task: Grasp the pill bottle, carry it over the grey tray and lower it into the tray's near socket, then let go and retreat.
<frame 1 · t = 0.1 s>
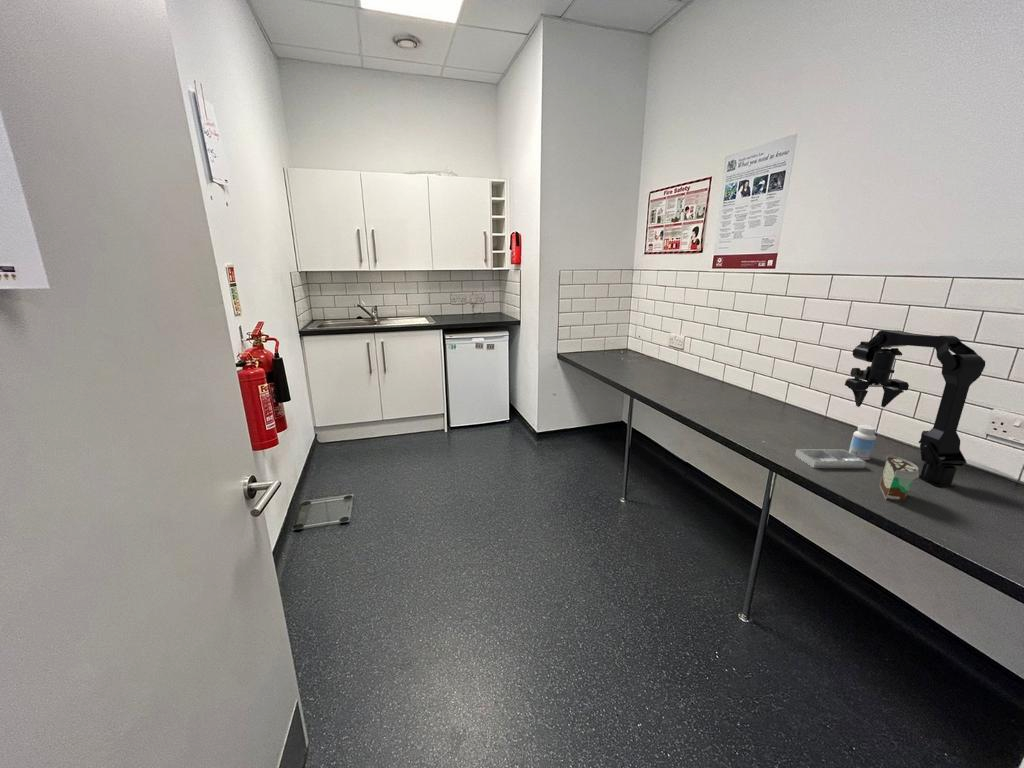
hand: (870, 406, 152), 15 cm above the countertop, fingers open, 9 cm apart
food container: (895, 496, 121), on the countertop
grey tray: (828, 461, 141), on the countertop
pill bottle: (858, 457, 145), on the countertop
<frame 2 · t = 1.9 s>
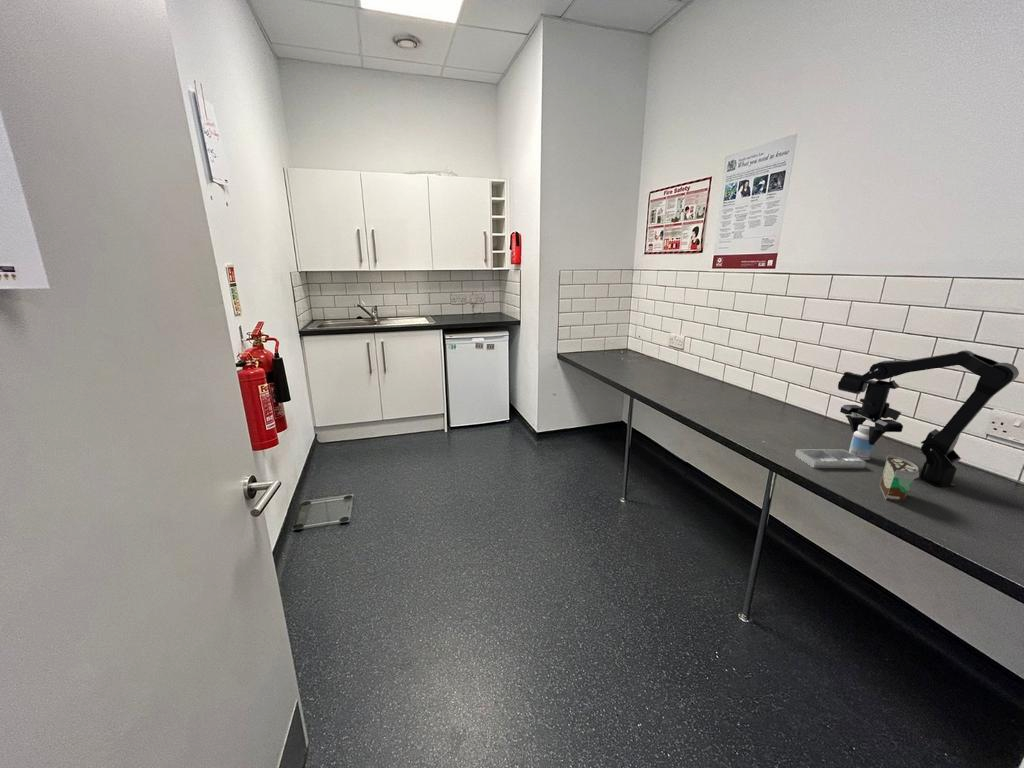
hand: (863, 440, 143), 6 cm above the countertop, fingers closed on pill bottle, 6 cm apart
pill bottle: (858, 457, 145), on the countertop, touching gripper
everything else where it was.
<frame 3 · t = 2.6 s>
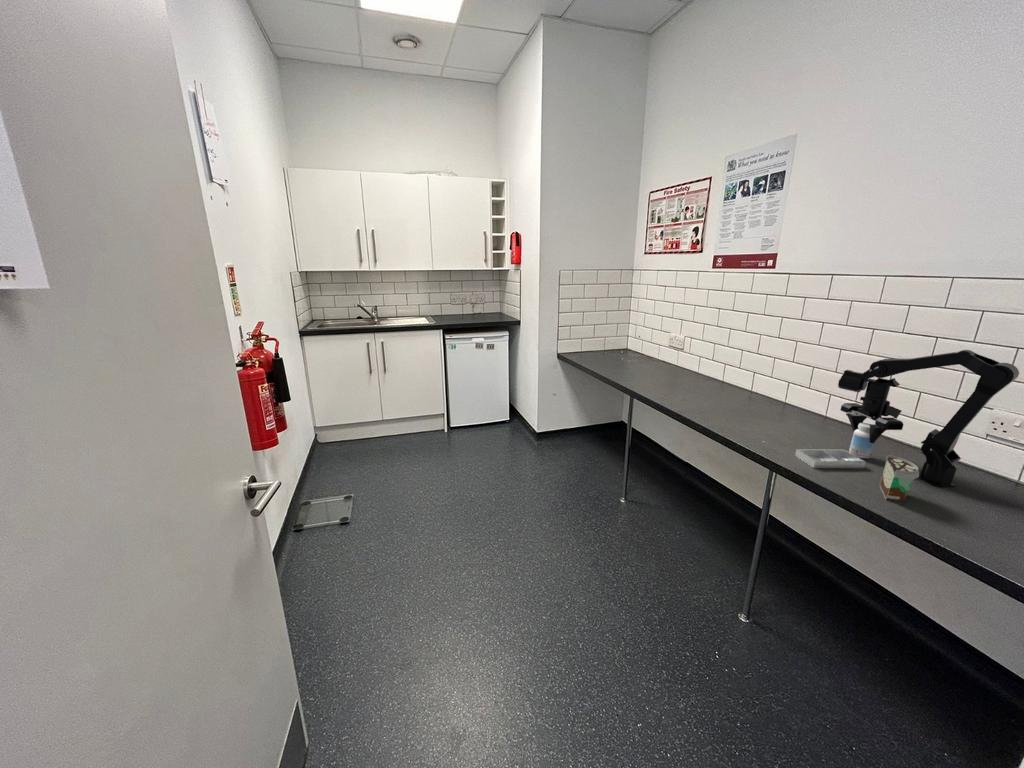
hand: (863, 439, 143), 7 cm above the countertop, fingers closed on pill bottle, 6 cm apart
pill bottle: (859, 455, 145), on the countertop, touching gripper
everything else where it was.
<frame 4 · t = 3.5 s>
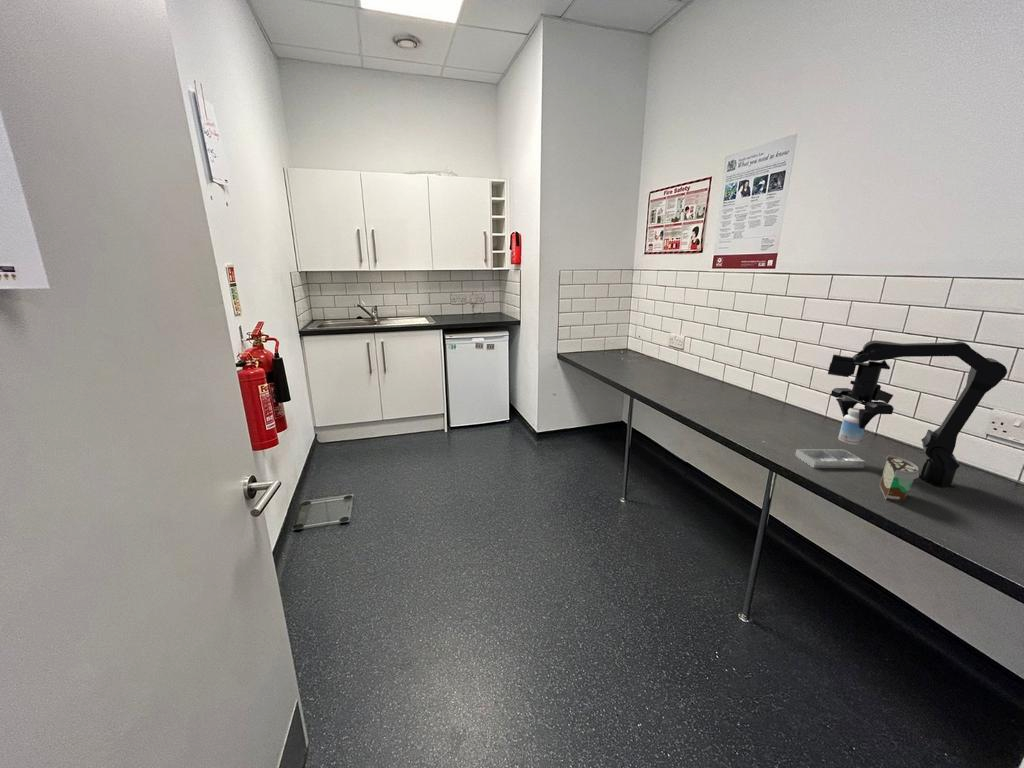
hand: (853, 424, 139), 13 cm above the countertop, fingers closed on pill bottle, 6 cm apart
pill bottle: (848, 441, 140), point 7 cm above the countertop, touching gripper
everything else where it was.
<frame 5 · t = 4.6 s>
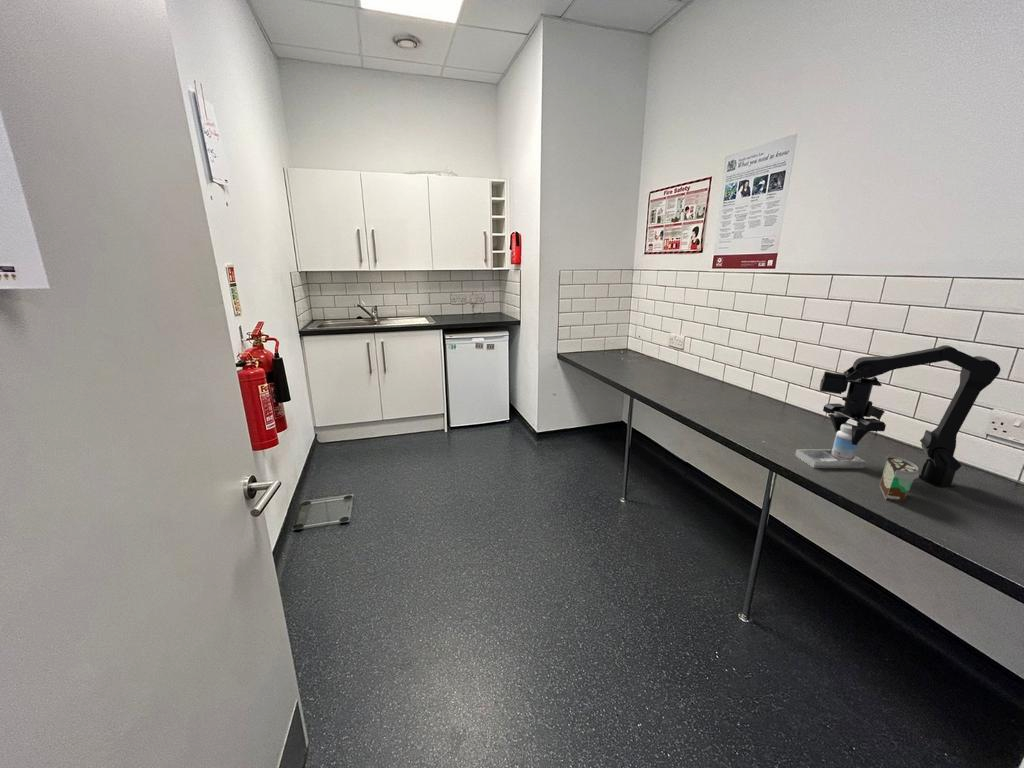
hand: (846, 440, 139), 8 cm above the countertop, fingers closed on pill bottle, 6 cm apart
pill bottle: (841, 457, 141), point 2 cm above the countertop, touching gripper
everything else where it was.
when the fingers open (7 cm above the countertop, at t = 5.2 s): pill bottle stays where it is, resting on grey tray.
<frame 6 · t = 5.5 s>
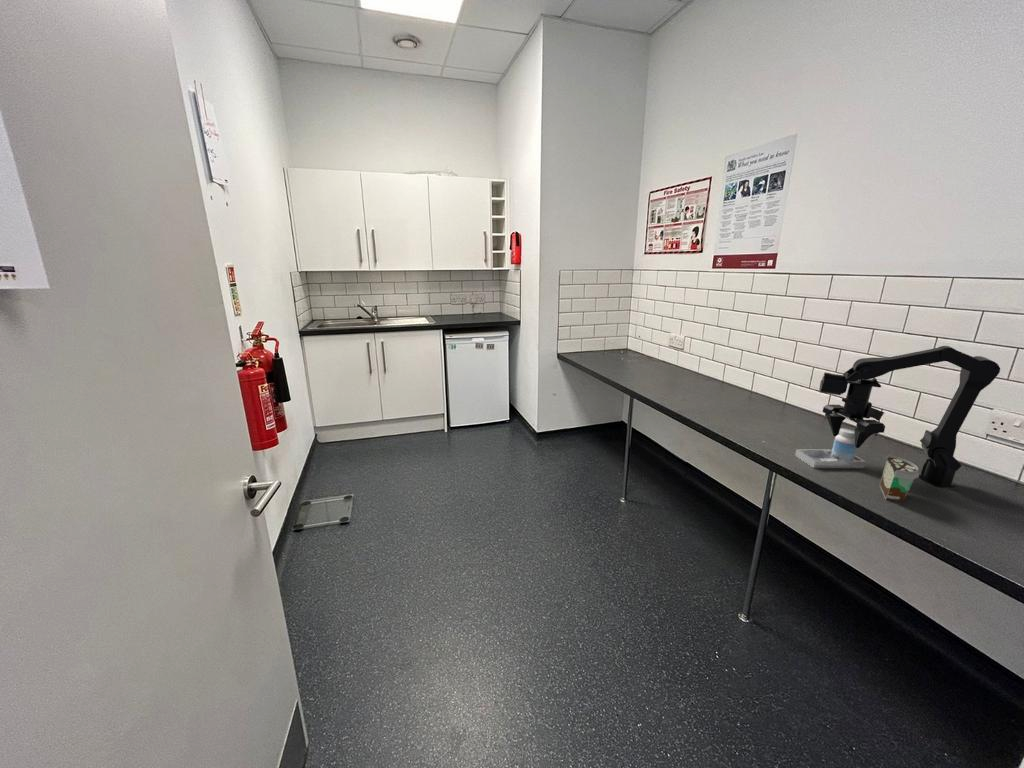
hand: (845, 441, 139), 7 cm above the countertop, fingers open, 9 cm apart
pill bottle: (840, 461, 141), resting on grey tray
everything else where it was.
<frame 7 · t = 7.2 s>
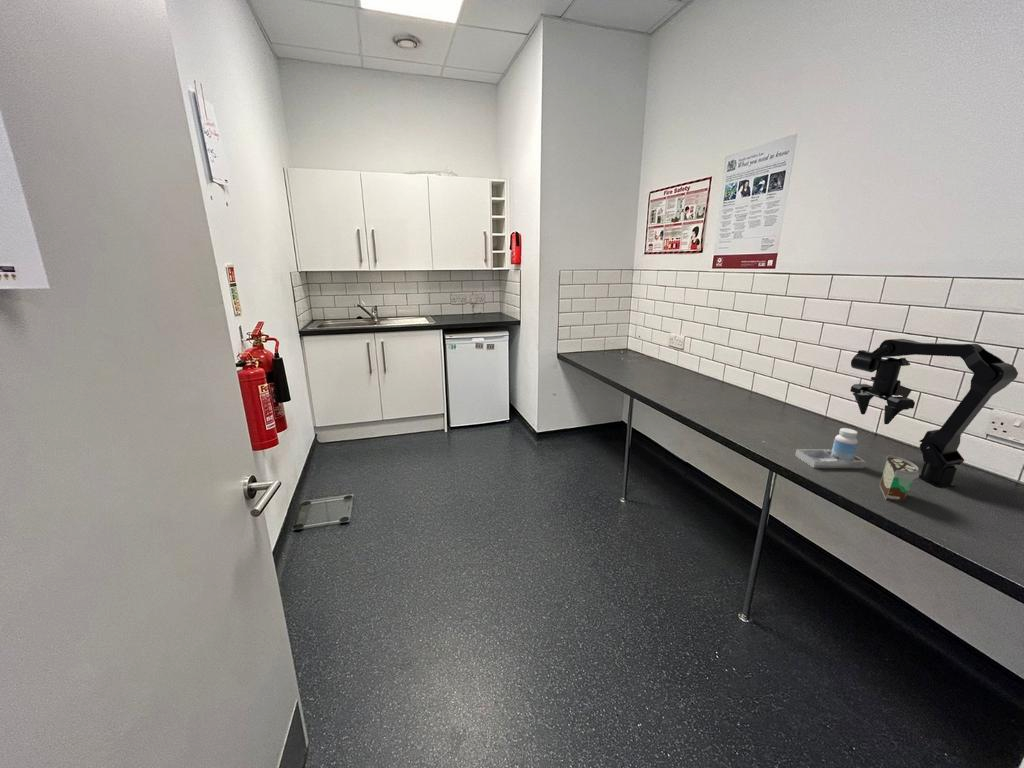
hand: (874, 419, 144), 13 cm above the countertop, fingers open, 9 cm apart
nothing on the countertop moved.
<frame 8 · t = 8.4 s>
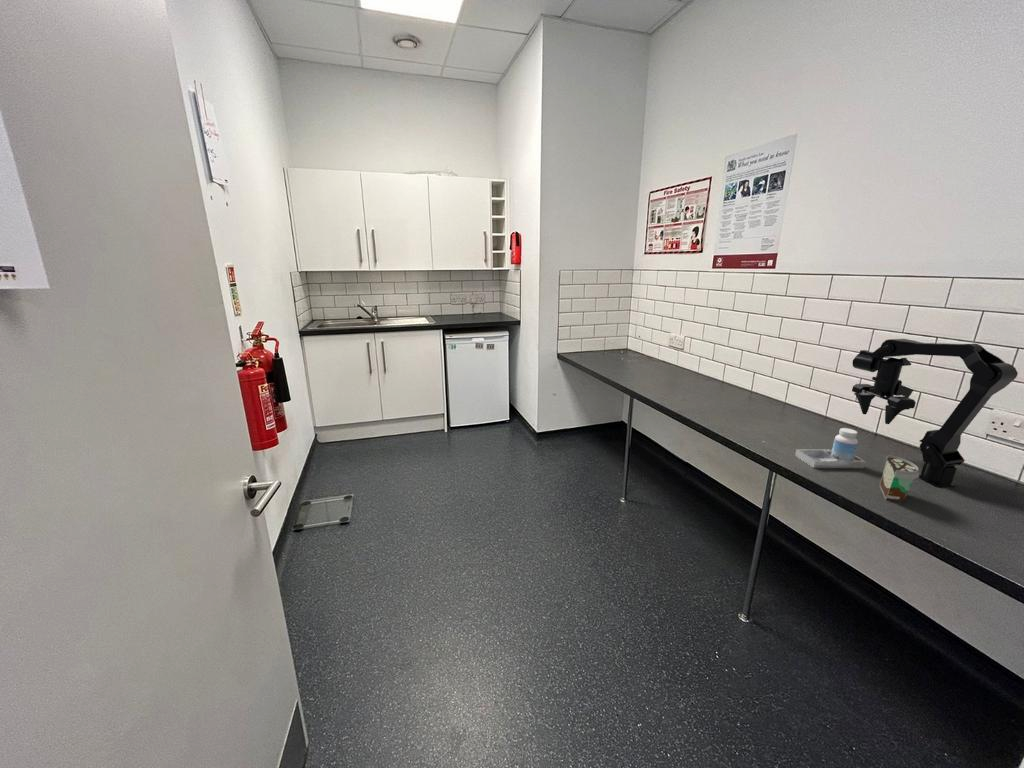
hand: (875, 418, 144), 13 cm above the countertop, fingers open, 9 cm apart
nothing on the countertop moved.
at the end: pill bottle 0.1 cm from the target spot on the grey tray, point 0.1 cm above the grey tray's base; pill bottle tilted 0°; the gripper is holding nothing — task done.
